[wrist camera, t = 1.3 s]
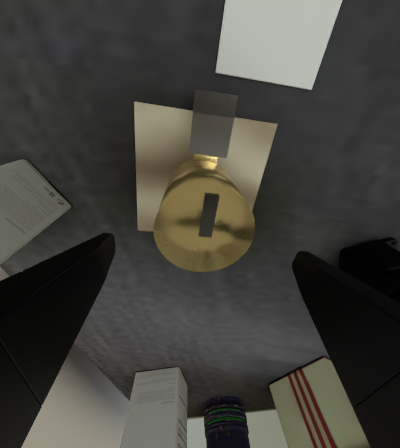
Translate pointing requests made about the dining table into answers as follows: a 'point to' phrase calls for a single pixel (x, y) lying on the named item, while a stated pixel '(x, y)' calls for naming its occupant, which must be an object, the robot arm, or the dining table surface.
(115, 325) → the dining table surface
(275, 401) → the gift box
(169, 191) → the brass bell
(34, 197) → the skincare box
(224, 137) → the cream slotted block
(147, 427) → the supplement box
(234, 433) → the storage jar
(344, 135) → the dining table surface
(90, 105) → the dining table surface
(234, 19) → the grey mat
